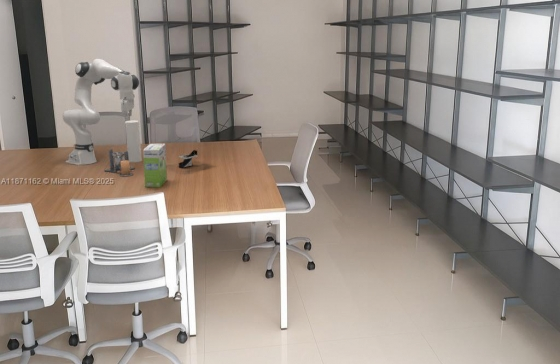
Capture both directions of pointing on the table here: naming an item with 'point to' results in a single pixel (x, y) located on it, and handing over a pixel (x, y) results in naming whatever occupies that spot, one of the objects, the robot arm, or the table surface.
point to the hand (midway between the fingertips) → (128, 117)
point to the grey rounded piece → (125, 175)
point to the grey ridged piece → (117, 161)
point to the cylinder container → (133, 140)
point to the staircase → (187, 159)
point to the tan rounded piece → (125, 168)
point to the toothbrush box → (155, 165)
